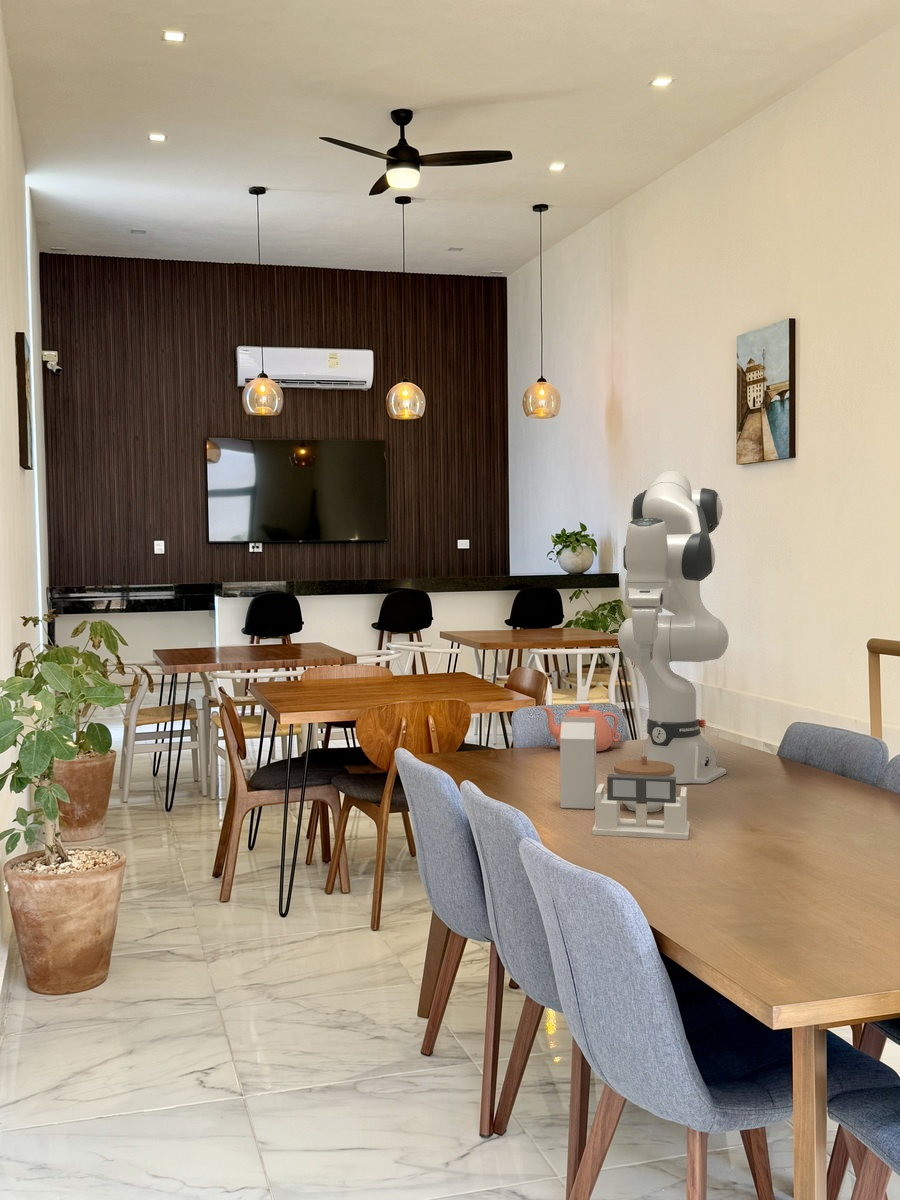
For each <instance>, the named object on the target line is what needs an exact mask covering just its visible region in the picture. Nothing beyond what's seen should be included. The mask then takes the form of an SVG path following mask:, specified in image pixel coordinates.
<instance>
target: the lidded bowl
mask: <svg viewBox="0 0 900 1200" xmlns="http://www.w3.org/2000/svg"><path fill="white" fill-rule="evenodd" d="M613 771H614V774H621V775H647V776H672V777H674V771H675V767H674V766H673V765H672V764H669V763H666V762H661V761H653V760H647V756H643V755H642V756H640V759H633V760H631V759H630V760H624V761H619V762H617V763H614V765H613ZM621 802H622V803H623V804H624V805H625V806H626V809H628V811H632V812H636V802H637V801H621ZM664 804H665V803H662V802H647V813H655V812H659V811H660V812H661V810H662V808H664Z"/></svg>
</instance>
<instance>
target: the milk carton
mask: <svg viewBox="0 0 900 1200" xmlns="http://www.w3.org/2000/svg"><path fill="white" fill-rule="evenodd" d="M561 721H562V723H561V722H560V723H561V733H560V746H559V766H560V767H559V769H560V770H559V772H560V773H559V775H560V776H559V777H560V779H559V780H560V783H559V785H560V789H559V790H560V795H559V796H560V799H559V800H560V803H559V804H560V808H562V809H583V810H585V809H587V810H593V809H594V810H595V792H596V790H597V752H596V727H595V718H594V717H564V716H561Z"/></svg>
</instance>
